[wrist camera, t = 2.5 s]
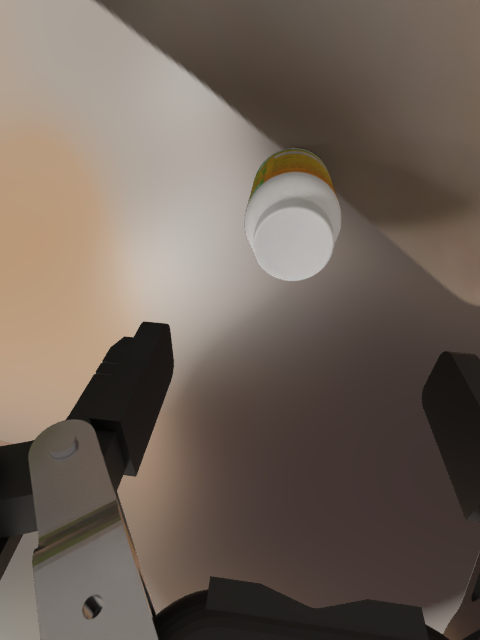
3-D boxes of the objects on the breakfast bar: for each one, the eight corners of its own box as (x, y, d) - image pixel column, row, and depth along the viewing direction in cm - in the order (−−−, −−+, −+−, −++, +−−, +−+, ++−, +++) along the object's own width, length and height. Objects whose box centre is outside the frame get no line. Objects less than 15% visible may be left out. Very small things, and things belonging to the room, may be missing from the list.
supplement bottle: (256, 143, 23) (240, 186, 16) (337, 149, 23) (362, 195, 15) (251, 221, 27) (236, 288, 19) (322, 227, 26) (336, 298, 19)
